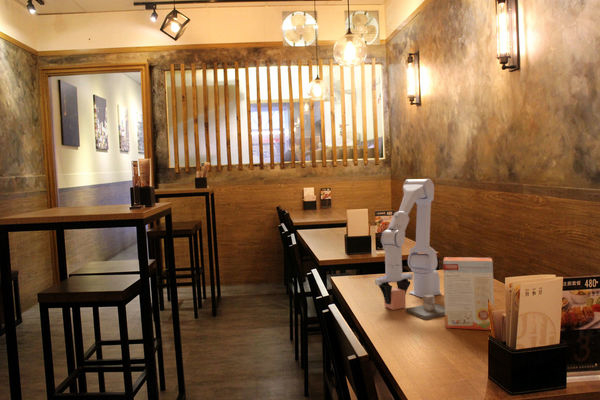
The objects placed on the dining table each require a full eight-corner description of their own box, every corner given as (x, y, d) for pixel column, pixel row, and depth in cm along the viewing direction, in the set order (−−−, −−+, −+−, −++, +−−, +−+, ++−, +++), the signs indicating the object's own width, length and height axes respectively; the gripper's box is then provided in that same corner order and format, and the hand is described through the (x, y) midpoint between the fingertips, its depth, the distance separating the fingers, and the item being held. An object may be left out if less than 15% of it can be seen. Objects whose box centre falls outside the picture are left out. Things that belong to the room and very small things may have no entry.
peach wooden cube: (396, 303, 171) (396, 287, 171) (405, 307, 167) (405, 290, 166) (384, 306, 169) (383, 289, 169) (393, 309, 165) (392, 292, 164)
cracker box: (493, 324, 146) (492, 256, 145) (494, 331, 140) (493, 260, 139) (445, 321, 151) (443, 256, 149) (444, 328, 145) (443, 259, 144)
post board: (433, 306, 168) (433, 290, 167) (453, 313, 158) (453, 296, 158) (405, 311, 163) (405, 295, 162) (424, 319, 153) (424, 302, 153)
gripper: (403, 259, 174) (404, 296, 175) (369, 264, 168) (371, 302, 168) (415, 262, 167) (417, 300, 168) (381, 268, 161) (382, 307, 162)
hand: (394, 302), depth 168 cm, fingers closed on peach wooden cube, 5 cm apart
